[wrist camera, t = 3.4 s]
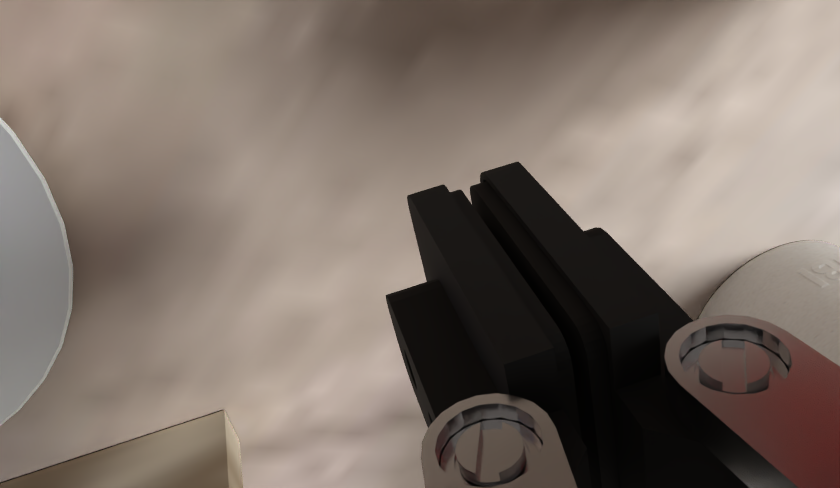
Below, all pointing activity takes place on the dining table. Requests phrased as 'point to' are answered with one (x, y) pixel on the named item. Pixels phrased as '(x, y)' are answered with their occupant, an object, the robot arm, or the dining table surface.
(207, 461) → the track
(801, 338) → the dixie cup
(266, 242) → the dining table surface
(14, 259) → the pudding
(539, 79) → the dining table surface
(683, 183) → the dining table surface
